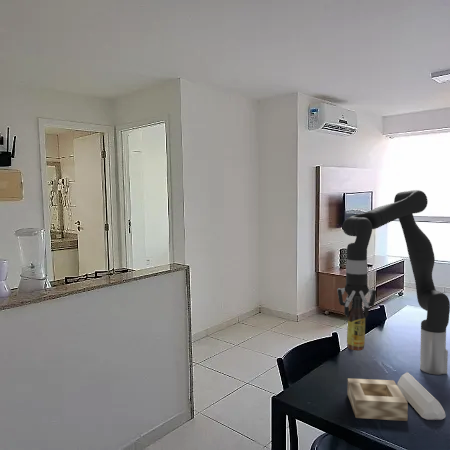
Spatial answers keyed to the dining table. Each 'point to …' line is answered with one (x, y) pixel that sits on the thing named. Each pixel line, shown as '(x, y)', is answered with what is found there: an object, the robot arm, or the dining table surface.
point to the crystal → (420, 398)
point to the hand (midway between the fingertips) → (356, 316)
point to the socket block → (377, 399)
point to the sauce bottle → (356, 326)
